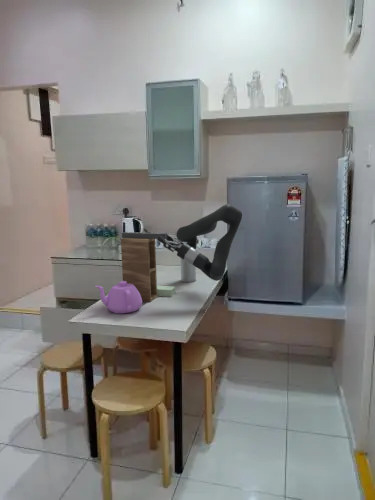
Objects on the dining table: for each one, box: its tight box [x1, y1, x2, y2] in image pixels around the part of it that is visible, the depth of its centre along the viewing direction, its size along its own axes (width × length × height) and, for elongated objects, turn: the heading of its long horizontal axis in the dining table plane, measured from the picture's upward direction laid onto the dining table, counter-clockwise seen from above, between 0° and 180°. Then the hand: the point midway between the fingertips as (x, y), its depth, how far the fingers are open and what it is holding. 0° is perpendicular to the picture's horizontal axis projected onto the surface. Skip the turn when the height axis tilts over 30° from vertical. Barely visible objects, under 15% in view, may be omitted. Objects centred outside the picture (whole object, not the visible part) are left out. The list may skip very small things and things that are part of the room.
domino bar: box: [121, 231, 168, 240], centre depth 197 cm, size 3×24×3 cm, turn 71°
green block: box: [157, 285, 176, 298], centre depth 211 cm, size 7×16×4 cm, turn 71°
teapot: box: [95, 280, 143, 314], centre depth 185 cm, size 22×22×14 cm
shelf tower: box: [120, 237, 158, 303], centre depth 201 cm, size 9×15×32 cm, turn 71°
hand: (161, 236), depth 194 cm, fingers open, 8 cm apart
